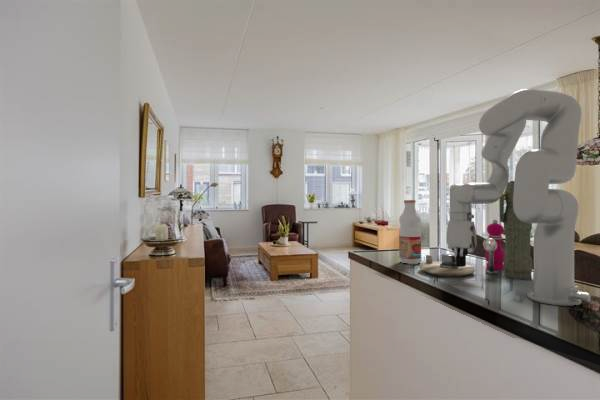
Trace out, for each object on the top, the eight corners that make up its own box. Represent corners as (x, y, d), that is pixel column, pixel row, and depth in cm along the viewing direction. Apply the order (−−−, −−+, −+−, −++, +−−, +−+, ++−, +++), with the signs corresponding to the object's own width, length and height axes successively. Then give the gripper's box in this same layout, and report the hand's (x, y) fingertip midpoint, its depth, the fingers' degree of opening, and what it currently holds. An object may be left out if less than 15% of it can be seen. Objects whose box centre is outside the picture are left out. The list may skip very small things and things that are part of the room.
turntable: (486, 271, 139) (486, 259, 139) (450, 277, 130) (450, 265, 129) (443, 262, 157) (442, 252, 157) (408, 267, 147) (408, 257, 147)
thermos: (542, 279, 129) (542, 180, 129) (508, 280, 129) (508, 180, 129) (526, 274, 138) (526, 181, 138) (495, 274, 138) (494, 181, 138)
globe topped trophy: (500, 273, 139) (500, 238, 139) (494, 275, 137) (494, 239, 137) (488, 271, 144) (488, 237, 144) (482, 272, 142) (481, 237, 142)
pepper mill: (508, 268, 149) (508, 219, 149) (499, 270, 145) (499, 220, 144) (491, 266, 155) (491, 218, 154) (481, 268, 151) (481, 219, 150)
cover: (462, 267, 140) (462, 255, 140) (450, 269, 137) (450, 257, 137) (447, 264, 146) (447, 253, 146) (436, 266, 143) (435, 254, 143)
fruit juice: (402, 260, 170) (402, 199, 170) (423, 262, 165) (423, 199, 165) (396, 263, 162) (396, 200, 162) (418, 265, 157) (417, 200, 157)
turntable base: (478, 273, 140) (478, 271, 140) (449, 278, 132) (449, 276, 132) (443, 266, 154) (443, 264, 154) (415, 270, 146) (415, 268, 146)
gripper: (485, 217, 132) (485, 268, 132) (450, 216, 145) (451, 262, 146) (471, 218, 129) (472, 270, 129) (437, 216, 142) (437, 264, 142)
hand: (460, 266), depth 137 cm, fingers closed
